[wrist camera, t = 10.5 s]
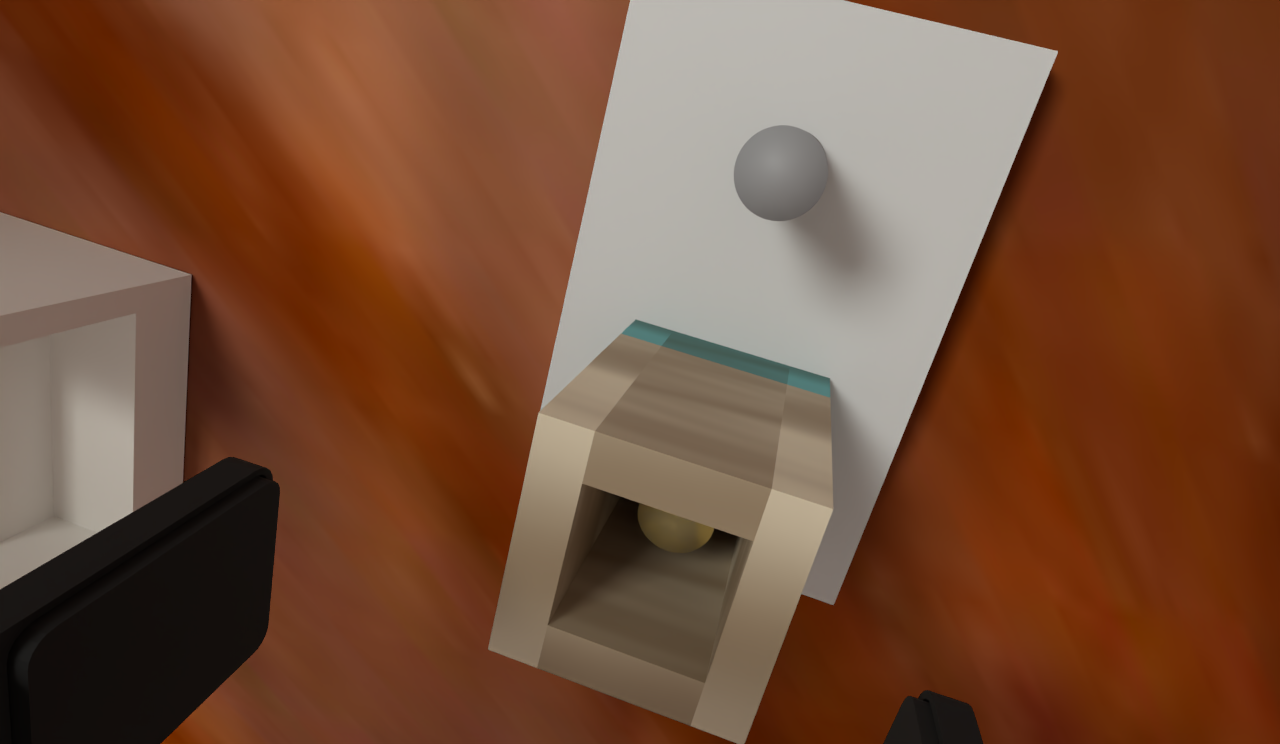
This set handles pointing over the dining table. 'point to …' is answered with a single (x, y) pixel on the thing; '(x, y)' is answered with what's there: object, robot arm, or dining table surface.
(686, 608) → the sleeve
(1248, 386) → the dining table surface
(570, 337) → the pin board
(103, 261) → the white stepped block
